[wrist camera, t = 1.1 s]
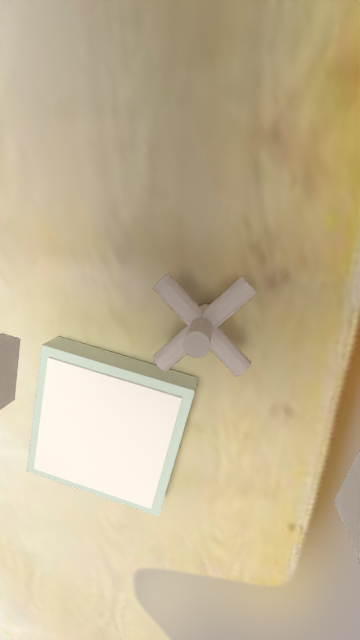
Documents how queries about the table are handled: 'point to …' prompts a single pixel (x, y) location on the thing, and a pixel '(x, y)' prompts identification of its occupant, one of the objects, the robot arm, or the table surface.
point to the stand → (107, 423)
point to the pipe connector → (203, 325)
